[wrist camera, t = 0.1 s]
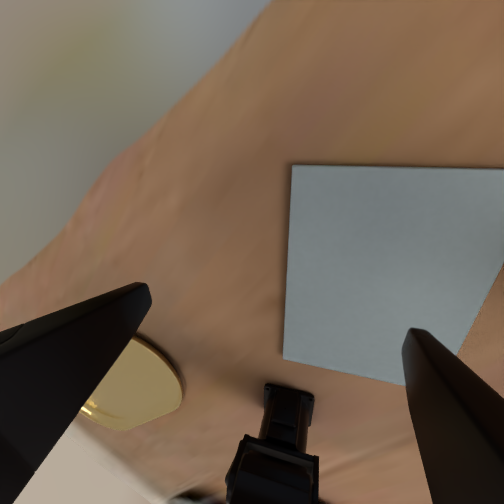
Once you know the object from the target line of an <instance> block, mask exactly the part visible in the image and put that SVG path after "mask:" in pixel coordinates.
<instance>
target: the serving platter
mask: <svg viewBox="0 0 504 504" xmlns="http://www.w3.org/2000/svg"><path fill="white" fill-rule="evenodd" d="M182 398H183V390H182V385H181V381H180V379H179V376H178V374H177V372H176V371H175V369H174V368H173V366H172V365H171V363H170V362H169V361H168V360H167V359H166V358H165V357H164V356H163V355H162V354H161V353H160V352H159V351H158V350H157V349H155V348H154V347H153V346H151V345H150V344H148V343H147V342H145V341H144V340H142V339H140V338H138V337H136V336H133V337H132V339H131V340H130V342H129V343H128V345H127V346H126V348H125V349H124V350H123V352H122V353H121V355H120V356H119V357H118V359H117V360H116V361H115V363H114V364H113V366H112V367H111V368H110V370H109V371H108V372H107V374H106V375H105V377H104V378H103V379H102V381H101V382H100V384H99V385H98V386H97V388H96V389H95V390H94V392H93V393H92V395H91V396H90V397H89V399H88V400H87V401H86V403H85V404H84V406H83V407H82V408H81V410H80V411H79V412H80V413H81V414H83V415H84V416H86V417H87V418H89V419H90V420H92V421H94V422H96V423H98V424H100V425H102V426H105V427H107V428H110V429H114V430H121V431H125V430H130V429H132V428H134V427H137V426H139V425H141V424H144V423H146V422H149V421H151V420H153V419H156V418H158V417H161V416H163V415H165V414H168V413H170V412H172V411H174V410H176V409H177V408H178V407H179V406H180V404H181V402H182Z"/></svg>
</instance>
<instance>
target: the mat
mask: <svg viewBox="0 0 504 504" xmlns="http://www.w3.org/2000/svg"><path fill="white" fill-rule="evenodd" d="M503 263H504V169H492V168H441V167H390V166H338V165H293V166H292V179H291V200H290V220H289V240H288V260H287V281H286V301H285V321H284V341H283V359H285V360H289V361H294V362H299V363H303V364H308V365H312V366H317V367H321V368H326V369H330V370H335V371H339V372H344V373H349V374H353V375H358V376H362V377H367V378H371V379H376V380H380V381H385V382H389V383H394V384H399V385H403V386H406V385H405V377H404V370H403V362H402V355H401V350H402V345H403V343H404V340H405V337H406V334H407V331H408V329H409V328H411V327H414V328H420V329H425V330H427V331H428V332H430V333H431V334H432V335H433V336H434V337H435V338H436V339H437V340H439V341H440V342H441V343H442V344H443V345H444V346H445V347H446V348H448V349H449V350H450V351H451V352H452V353H453V354H454V355H455V356H456V355H457V353H458V351H459V349H460V347H461V345H462V343H463V341H464V339H465V337H466V336H467V334H468V332H469V330H470V328H471V326H472V324H473V322H474V320H475V318H476V316H477V314H478V312H479V310H480V308H481V306H482V304H483V302H484V300H485V298H486V296H487V294H488V293H489V291H490V289H491V287H492V285H493V283H494V281H495V279H496V277H497V275H498V273H499V271H500V269H501V267H502V265H503Z"/></svg>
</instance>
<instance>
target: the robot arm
mask: <svg viewBox="0 0 504 504" xmlns="http://www.w3.org/2000/svg"><path fill="white" fill-rule="evenodd" d="M151 304H152V298H151V295H150V291H149V287H148V285H147V284H146V283H142V282H134V283H132V284H129V285H126V286H124V287H121V288H118V289H115V290H113V291H110V292H107V293H105V294H102V295H99V296H96V297H94V298H91V299H88V300H86V301H83V302H80V303H78V304H75V305H72V306H69V307H67V308H64V309H61V310H59V311H56V312H53V313H50V314H48V315H45V316H42V317H40V318H37V319H34V320H31V321H29V322H26V323H25V324H21V325H18V326H15V327H12V328H10V329H7V330H4V331H1V332H0V504H13V503H14V501H15V500H16V498H17V497H18V496H19V494H20V493H21V492H22V490H23V489H24V487H25V486H26V485H27V483H28V482H29V480H30V479H31V478H32V476H33V475H34V473H35V471H36V470H37V469H38V468H39V466H40V465H41V464H42V462H43V461H44V459H45V458H46V457H47V455H48V454H49V452H50V451H51V450H52V448H53V447H54V446H55V444H56V443H57V441H58V440H59V439H60V437H61V436H62V435H63V433H64V432H65V430H66V429H67V428H68V426H69V425H70V424H71V422H72V421H73V419H74V418H75V417H76V415H77V414H78V412H79V411H80V410H81V408H82V407H83V406H84V404H85V403H86V401H87V400H88V399H89V397H90V396H91V395H92V393H93V392H94V390H95V389H96V388H97V386H98V385H99V384H100V382H101V381H102V379H103V378H104V377H105V375H106V374H107V372H108V371H109V370H110V368H111V367H112V366H113V364H114V363H115V361H116V360H117V359H118V357H119V356H120V355H121V353H122V352H123V350H124V349H125V348H126V346H127V345H128V343H129V342H130V340H131V339H132V337H133V336H134V334H135V332H136V331H137V329H138V327H139V326H140V324H141V322H142V321H143V319H144V317H145V315H146V314H147V312H148V310H149V309H150V307H151ZM401 355H402V362H403V370H404V377H405V385H406V392H407V400H408V406H409V411H410V415H411V419H412V423H413V427H414V431H415V435H416V439H417V443H418V447H419V451H420V455H421V459H422V463H423V466H424V470H425V474H426V478H427V482H428V486H429V490H430V494H431V498H432V502H433V504H504V398H502V397H501V396H500V395H499V394H498V393H497V392H496V391H495V390H494V389H492V388H491V387H490V386H489V385H488V384H487V383H486V382H485V381H483V380H482V379H481V378H480V377H479V376H478V375H477V374H476V373H474V372H473V371H472V370H471V369H470V368H469V367H468V366H467V365H465V364H464V363H463V362H462V361H461V360H460V359H459V358H458V357H457V356H455V355H454V354H453V353H452V352H451V351H450V350H449V349H448V348H446V347H445V346H444V345H443V344H442V343H441V342H440V341H439V340H437V339H436V338H435V337H434V336H433V335H432V334H431V333H430V332H428V331H427V330H425V329H420V328H414V327H411V328H409V329H408V331H407V334H406V337H405V340H404V343H403V345H402V350H401ZM313 406H314V396H313V395H311V394H308V393H304V392H300V391H296V390H292V389H288V388H284V387H280V386H276V385H272V384H265V387H264V415H263V420H262V424H261V428H260V432H259V436H258V438H254V437H251V436H249V435H248V434H245V435H244V438H243V440H240V443H239V446H238V450H237V453H236V456H235V458H234V460H233V462H232V464H231V466H230V468H229V470H228V473H227V475H226V478H225V483H226V486H227V495H226V503H227V504H318V491H319V456H315V455H314V456H312V455H309V454H306V446H307V434H308V427H309V426H311V419H312V413H313Z"/></svg>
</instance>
